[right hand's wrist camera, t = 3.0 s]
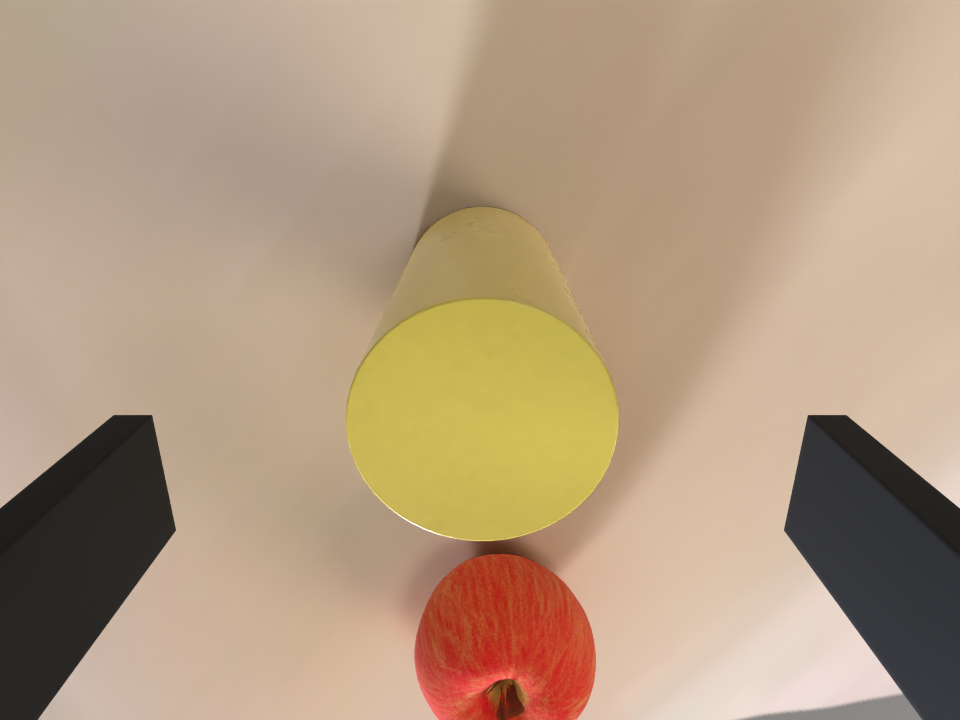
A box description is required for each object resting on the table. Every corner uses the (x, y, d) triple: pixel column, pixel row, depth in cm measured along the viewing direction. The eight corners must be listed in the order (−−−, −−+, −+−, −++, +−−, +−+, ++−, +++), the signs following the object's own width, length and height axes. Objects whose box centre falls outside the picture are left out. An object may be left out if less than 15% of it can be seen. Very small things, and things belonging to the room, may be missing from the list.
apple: (572, 654, 33) (598, 811, 26) (419, 646, 33) (401, 802, 26) (592, 529, 30) (628, 666, 23) (424, 519, 30) (406, 654, 23)
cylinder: (415, 355, 27) (364, 548, 15) (399, 211, 25) (326, 306, 13) (557, 347, 27) (616, 535, 15) (555, 201, 25) (622, 289, 13)
